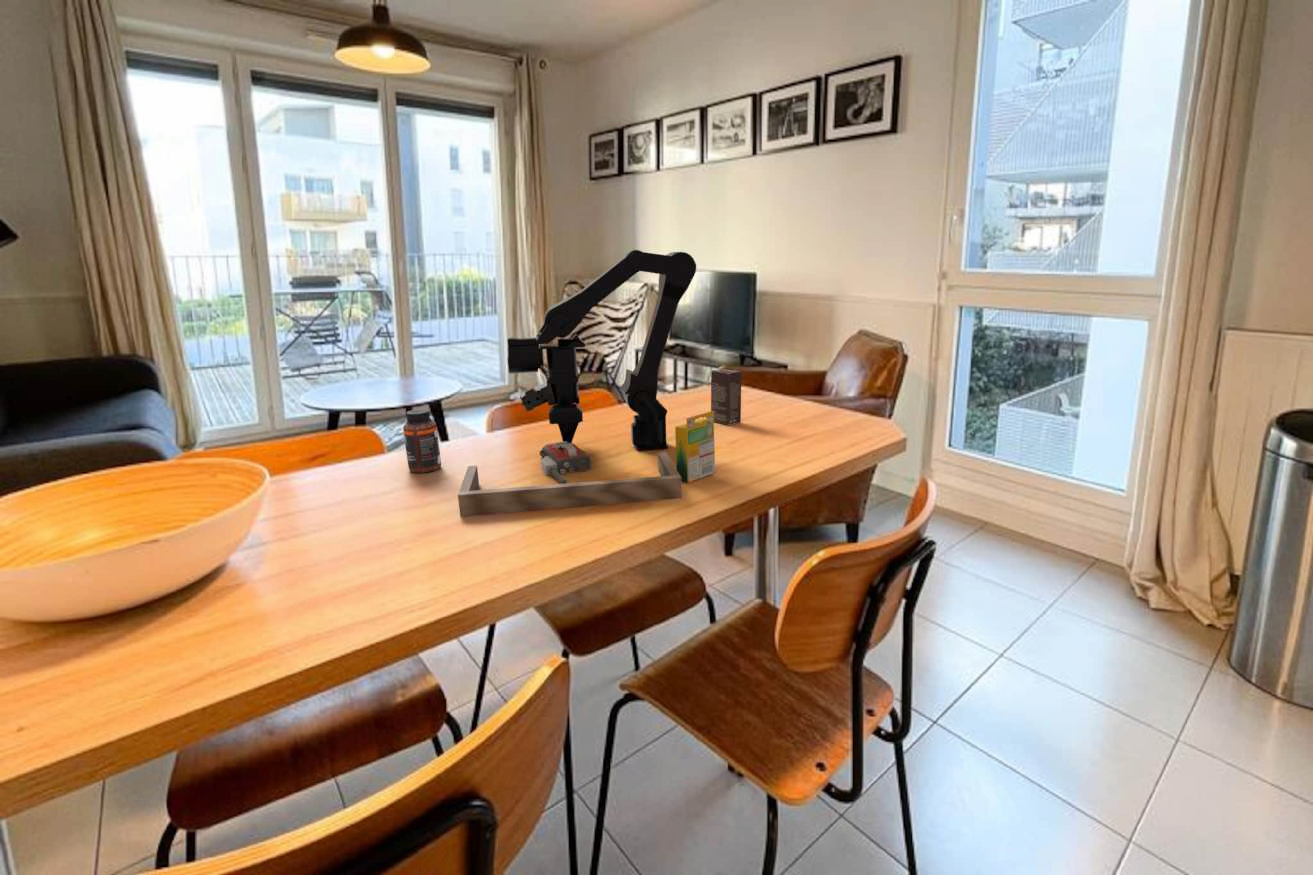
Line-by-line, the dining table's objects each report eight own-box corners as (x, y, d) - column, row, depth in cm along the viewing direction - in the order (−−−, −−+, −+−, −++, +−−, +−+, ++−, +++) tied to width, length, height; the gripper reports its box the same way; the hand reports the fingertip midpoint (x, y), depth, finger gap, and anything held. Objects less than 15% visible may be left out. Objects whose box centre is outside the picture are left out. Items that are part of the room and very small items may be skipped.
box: (742, 422, 155) (742, 370, 151) (728, 426, 152) (728, 373, 149) (723, 417, 159) (723, 367, 156) (709, 421, 156) (709, 370, 153)
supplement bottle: (448, 466, 128) (441, 408, 125) (426, 475, 123) (418, 416, 120) (424, 462, 131) (417, 406, 128) (401, 472, 126) (393, 413, 123)
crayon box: (703, 469, 122) (702, 408, 119) (715, 473, 120) (715, 410, 117) (675, 479, 118) (674, 415, 114) (688, 483, 115) (687, 418, 112)
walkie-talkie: (529, 460, 132) (559, 491, 115) (528, 438, 131) (557, 466, 114) (572, 453, 136) (607, 483, 118) (571, 432, 135) (605, 459, 117)
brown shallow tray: (666, 470, 123) (666, 452, 122) (681, 498, 109) (681, 477, 108) (470, 485, 118) (468, 466, 117) (460, 516, 104) (457, 495, 103)
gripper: (522, 364, 139) (528, 437, 143) (518, 381, 121) (525, 464, 125) (576, 362, 140) (580, 434, 144) (580, 378, 122) (585, 459, 127)
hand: (567, 447), depth 135 cm, fingers closed
